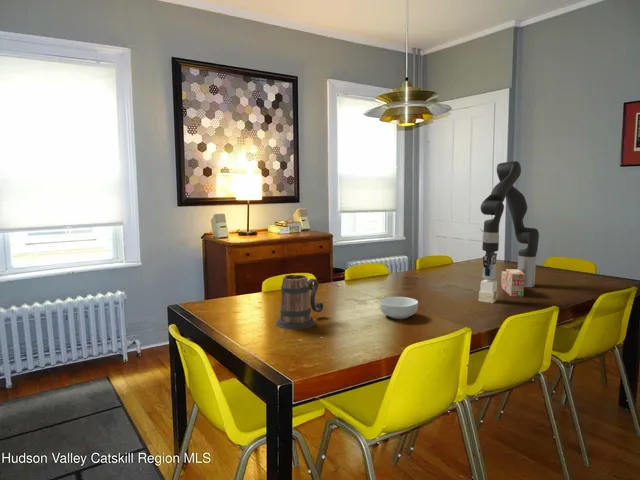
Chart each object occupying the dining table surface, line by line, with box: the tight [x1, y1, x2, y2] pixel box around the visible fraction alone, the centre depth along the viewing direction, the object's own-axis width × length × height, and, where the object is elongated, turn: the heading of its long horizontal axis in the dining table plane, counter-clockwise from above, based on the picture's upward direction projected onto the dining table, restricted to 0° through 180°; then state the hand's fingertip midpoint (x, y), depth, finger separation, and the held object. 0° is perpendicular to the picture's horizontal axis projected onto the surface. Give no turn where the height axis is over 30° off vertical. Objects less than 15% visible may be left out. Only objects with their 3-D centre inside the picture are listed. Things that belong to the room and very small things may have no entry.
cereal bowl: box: [379, 296, 419, 320], centre depth 200 cm, size 17×17×7 cm
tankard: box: [275, 274, 324, 331], centre depth 192 cm, size 24×17×20 cm
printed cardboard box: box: [500, 268, 525, 298], centre depth 244 cm, size 21×6×12 cm, turn 172°
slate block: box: [481, 263, 497, 280], centre depth 225 cm, size 5×5×7 cm
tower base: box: [478, 290, 499, 304], centre depth 227 cm, size 7×7×5 cm
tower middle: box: [479, 278, 498, 293], centre depth 226 cm, size 6×6×5 cm
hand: (489, 274), depth 226 cm, fingers closed on slate block, 5 cm apart
